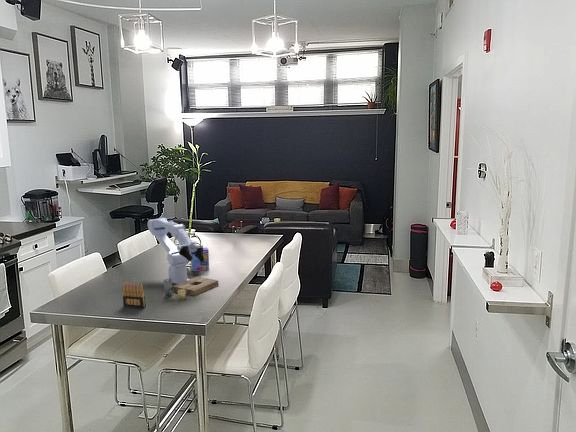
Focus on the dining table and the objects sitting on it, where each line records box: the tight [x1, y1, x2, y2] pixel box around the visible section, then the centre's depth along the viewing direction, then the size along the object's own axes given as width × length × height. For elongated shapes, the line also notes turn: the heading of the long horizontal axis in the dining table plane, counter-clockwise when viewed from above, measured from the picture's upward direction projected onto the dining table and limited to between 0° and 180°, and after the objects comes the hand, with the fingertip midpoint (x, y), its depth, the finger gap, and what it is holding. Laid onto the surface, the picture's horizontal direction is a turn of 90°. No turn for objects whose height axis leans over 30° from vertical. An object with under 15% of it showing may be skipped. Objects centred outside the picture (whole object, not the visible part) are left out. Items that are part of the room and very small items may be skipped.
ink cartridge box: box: [190, 245, 210, 272], centre depth 267 cm, size 10×6×14 cm, turn 111°
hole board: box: [172, 276, 219, 296], centre depth 236 cm, size 14×18×2 cm
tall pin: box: [163, 278, 173, 298], centre depth 225 cm, size 4×4×8 cm
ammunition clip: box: [122, 280, 147, 309], centre depth 211 cm, size 11×2×12 cm, turn 74°
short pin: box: [177, 289, 187, 301], centre depth 220 cm, size 4×4×4 cm
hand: (197, 260), depth 229 cm, fingers open, 7 cm apart
